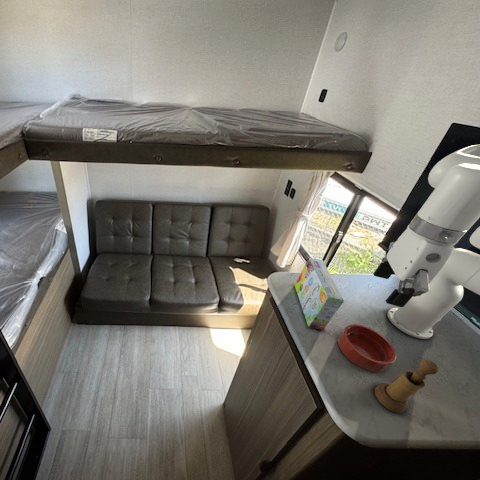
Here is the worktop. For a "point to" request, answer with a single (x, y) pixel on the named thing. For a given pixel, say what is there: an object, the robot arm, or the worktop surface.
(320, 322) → the snack box
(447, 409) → the worktop surface
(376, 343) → the bowl
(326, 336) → the worktop surface
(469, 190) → the robot arm
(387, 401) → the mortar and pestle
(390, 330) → the worktop surface
